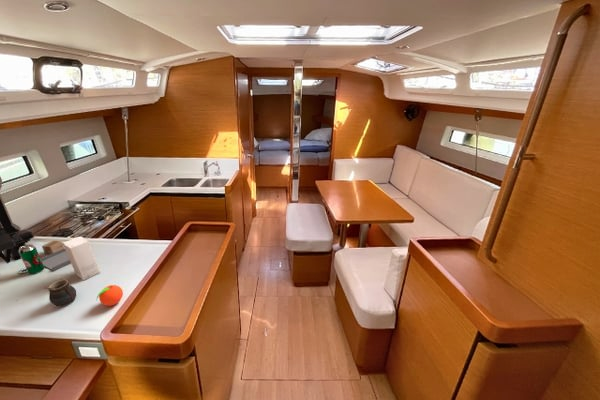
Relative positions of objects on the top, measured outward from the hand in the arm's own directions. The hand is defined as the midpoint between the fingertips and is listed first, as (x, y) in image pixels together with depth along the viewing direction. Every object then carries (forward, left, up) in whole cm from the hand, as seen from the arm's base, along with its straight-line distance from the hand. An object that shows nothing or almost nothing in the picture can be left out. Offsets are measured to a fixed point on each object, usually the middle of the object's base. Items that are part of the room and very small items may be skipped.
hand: (8, 262), depth 105 cm
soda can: (0, +6, -9) cm, 11 cm away
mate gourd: (+33, +1, -9) cm, 34 cm away
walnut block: (-10, +17, -9) cm, 22 cm away
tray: (0, +16, -8) cm, 18 cm away
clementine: (+49, +8, -9) cm, 51 cm away
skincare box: (+22, +14, -9) cm, 28 cm away
